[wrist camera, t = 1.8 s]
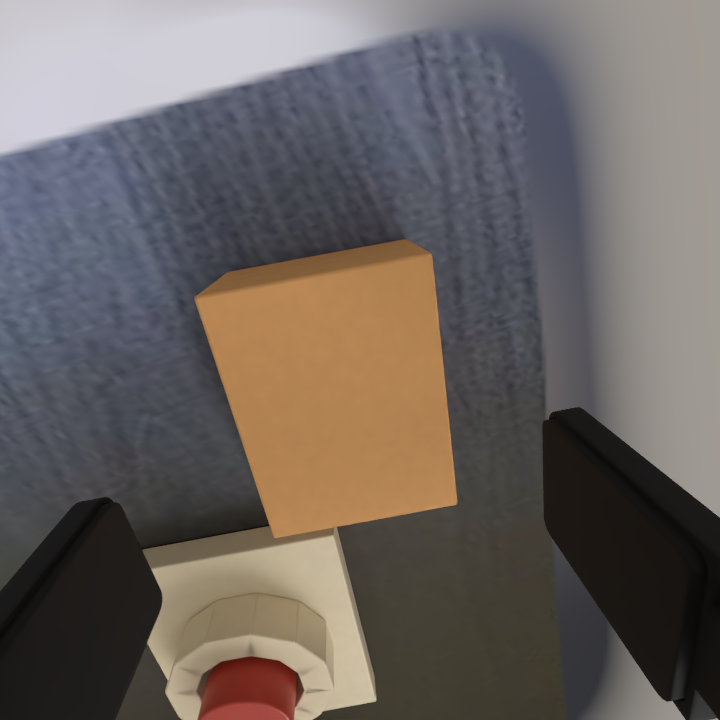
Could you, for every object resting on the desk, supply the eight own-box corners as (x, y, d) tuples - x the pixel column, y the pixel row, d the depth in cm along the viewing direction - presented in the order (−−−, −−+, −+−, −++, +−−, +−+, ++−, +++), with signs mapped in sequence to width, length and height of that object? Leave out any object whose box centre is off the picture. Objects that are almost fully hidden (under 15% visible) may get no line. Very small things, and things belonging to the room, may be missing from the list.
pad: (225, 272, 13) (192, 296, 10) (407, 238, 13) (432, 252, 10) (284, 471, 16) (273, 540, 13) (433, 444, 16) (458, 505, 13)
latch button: (195, 662, 16) (180, 713, 15) (285, 645, 16) (280, 695, 15) (222, 715, 18) (211, 767, 16) (305, 699, 18) (302, 750, 16)
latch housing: (123, 552, 17) (83, 620, 15) (333, 513, 17) (334, 574, 15) (204, 707, 22) (186, 783, 19) (374, 675, 22) (380, 747, 19)
